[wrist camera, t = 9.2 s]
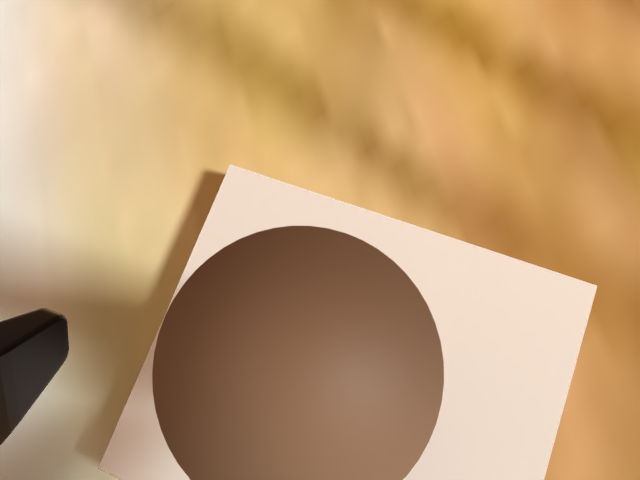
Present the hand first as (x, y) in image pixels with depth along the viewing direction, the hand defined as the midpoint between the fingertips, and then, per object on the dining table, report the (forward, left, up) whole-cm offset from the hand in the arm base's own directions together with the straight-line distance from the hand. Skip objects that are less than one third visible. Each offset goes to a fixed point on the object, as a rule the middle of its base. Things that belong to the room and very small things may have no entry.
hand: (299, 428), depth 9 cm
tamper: (+1, 0, -9) cm, 9 cm away
